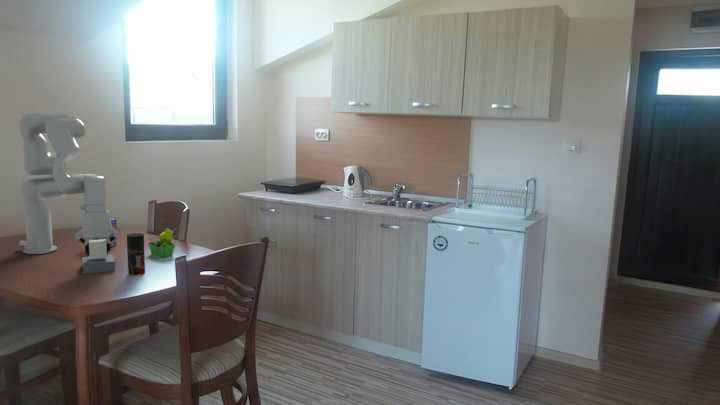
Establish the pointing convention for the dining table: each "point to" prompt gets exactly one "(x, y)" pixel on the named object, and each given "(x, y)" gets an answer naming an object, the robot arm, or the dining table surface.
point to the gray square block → (98, 264)
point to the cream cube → (97, 249)
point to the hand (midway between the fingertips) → (98, 253)
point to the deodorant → (136, 254)
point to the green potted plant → (163, 245)
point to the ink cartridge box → (114, 242)
